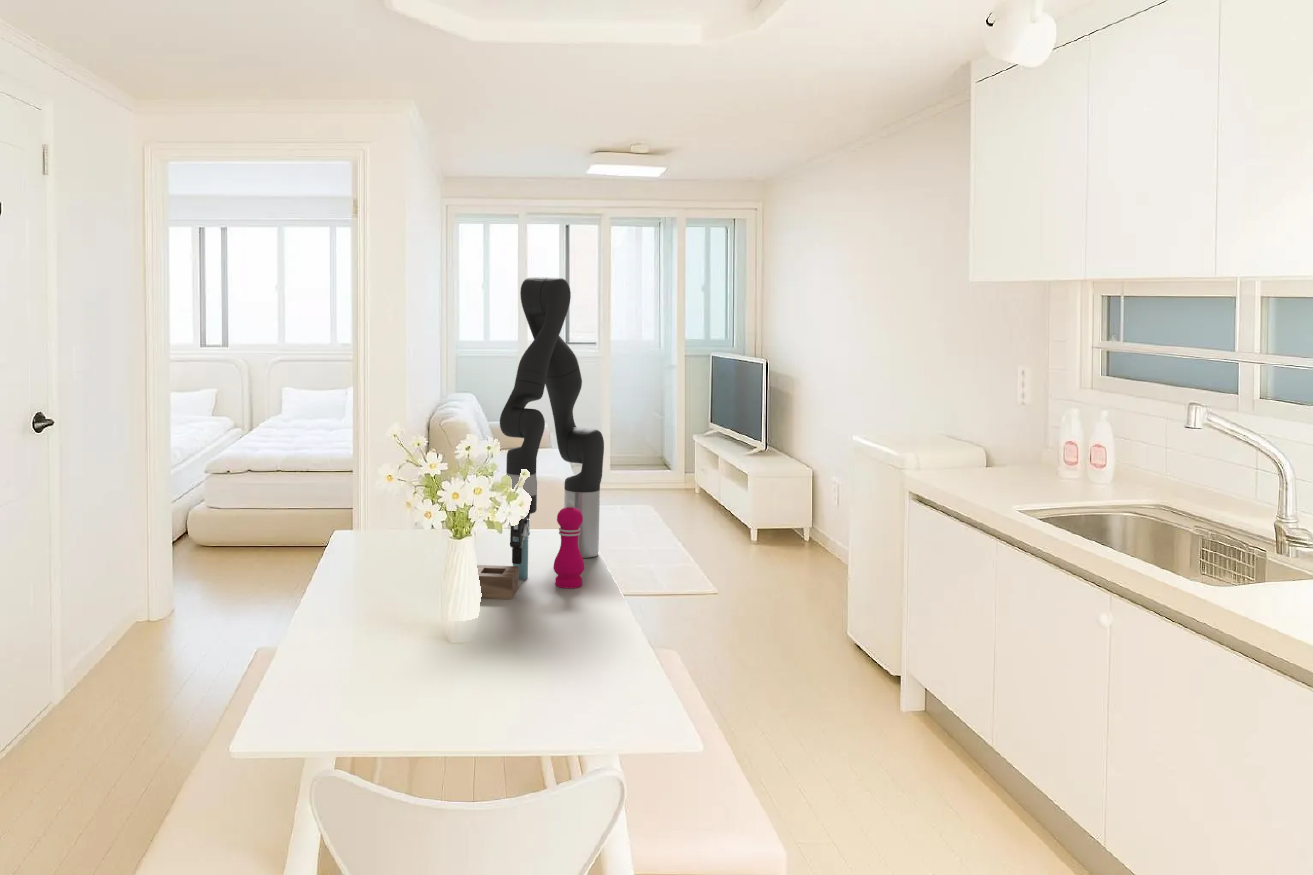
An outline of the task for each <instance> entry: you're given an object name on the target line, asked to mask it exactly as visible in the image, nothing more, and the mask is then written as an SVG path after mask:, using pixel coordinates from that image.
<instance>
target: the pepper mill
mask: <svg viewBox="0 0 1313 875" xmlns="http://www.w3.org/2000/svg"><path fill="white" fill-rule="evenodd" d="M566 506H567V507H566V508H564V507H562V508H561V509H560V510H559V511H558V513H557V516H556V522H557V524H558V525H559V528H558V530H559V532H558V535H560V545H559V550H558V552H557V554H556V557H555V558H554V562H553V571H554V573H555V574H556V577H555V581H554V583H555V584H554V585H555V586H556V587H557V588H561V589H576V588H580V587H582V586H583V577H582V576H581V575H582V574H583V572H584V571H585V568H586V567H585V561H584V558H583V557H582V555H581V553H580V550H579V546H578V536H579V535H580V530H581V529H580V528H579V526H580V525H581V524H582V522H583V516H582V513H581V511H580V510H579V509H577V508H574V507H573V506H574V503H573V501H568V502H567V503H566Z"/></svg>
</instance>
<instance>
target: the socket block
mask: <svg viewBox="0 0 1313 875" xmlns="http://www.w3.org/2000/svg"><path fill="white" fill-rule="evenodd" d="M476 565H477V568H478V575H479V580H480V586H481V593H482V598H481V599H495V600H497V599H498V600H499V599H500V600H501V599H502V600H512V599H513V598H514V596H515V594H516V593H517V591H518V590H519V584H520V583H519V582H520V580H519V566H513V565H495V564H493V565H491V564H489V565H488V564H476Z"/></svg>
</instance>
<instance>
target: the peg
mask: <svg viewBox="0 0 1313 875" xmlns="http://www.w3.org/2000/svg"><path fill="white" fill-rule="evenodd" d="M515 542H519V540H517V539H516V540H515ZM512 566H519V581H520V580H522V581H523V580H527V579H528V578H529V577H528V576H529V575H528V574H529V539H528V536H526V538H525V540H523V547H522V562H521V564H513V563H512Z"/></svg>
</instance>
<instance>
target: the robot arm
mask: <svg viewBox="0 0 1313 875" xmlns="http://www.w3.org/2000/svg"><path fill="white" fill-rule="evenodd" d="M571 294H572V293H571V287H570V285H569V283H568V282H567V280H566V279H565V278H563V277H558V276H557V277H555V276H546V277H544V276H540V277H539V276H530V277H528V278H525V279H524V280H523V281H522V283H521V286H520V301H521V308H522V310H523V312H524V316H525V318H526V319H525V320H526V321H527V324H528V327H529V329H530V332H531V335H532V338H533V340H532V342H531V343H530V345H528V347H527V349H525V351H524V353H523V355H522V356H521V358H520V361H519V363H518V366H517V370H516V377H515V381H514V385H513V386H514V387H513V389H512V390H511V393H510V395H509V397H508V399H507V401H506V403H505V405H504V407H503V408H502V411H501V414H500V418H499V428H500V431H501V433H502V434H503V435H505V436H506V437H509V438H516V439H517V438H518V439H519V438H520V439H523V442H522V444H521V446H519V447H512V448H510V449H508V450H507V453H506V472H505V474H506V475H508V476H510V477H511V479H512V489H514V487H515V485H516V484H517V483H518V481H519V477H520V473H521V469H527V470H528V471H529V472H530V477H528V478H527V479H526V480H525V483H524V485H523V489H524V490H525V491H526V492H527V493H529V495H530V496H531V498H532V501H531V505H530V510H529V513H528V515H527V516H526V517H525V518H524V519H521V520H520V521H519V524H518V525H515V526H511V525H510V534H509V535H510V538H509V540H510V541H509V546H510V548H511V563H512V565H513V564H521V562H522V547H523V540H525V538H526V536H528V540H529V536H530V534H531V533H530V529H531V528H530V523H531V522H530V521H531V519H530V517H531V516H530V515H532V514H534V513H536V512H537V503H538V498H537V497H538V480H537V479H538V478H537V458H538V453H539V449H540V445H541V442H542V438H543V435H544V432H545V427H546V426H545V425H546V422H545V417H544V415H543V413H542V412H541V411H540V410H538V409H536V408H527V407H526V406H527V405H528V404H529V403H532V402H535V401H539V400H541V399H542V398H543V395H544V392H545V388H546V391H547V395H548V398H549V399H548V400H549V404H550V407H551V412H552V417H553V422H554V428H555V437H556V438H555V439H556V442H557V448H558V452H559V455H560V456H561V459H562V460H564V461H565V462H568V463H571V464H573V463H574V464H581V469H580V472H579V473H578V474H575V475H571V476H568V477H566V478H565V479H564V485H563V486H564V491H563V492H564V495H563V496H564V498H563V501H564V502H563V503H564V504H563V508H566V507H567V506H566V503H567V502H568V501H573V503H574V506H573V507H574V508H577V509H579V510H580V511H581V513H582V516H583V522H582V524H581V525H580V526H579V528H580V529H581V530H580V535H579V536H578V546H579V550H580V553H581V555H582V557H583V559H586V558H594V557H597V556H598V555H599V554H598V552H599V550H600V549H599V547H600V546H599V545H600V508H601V507H600V505H601V504H600V503H601V502H600V501H601V500H600V498H601V496H600V494H601V490H600V489H601V482H602V478H603V467H604V454H605V452H604V451H605V441H604V436H603V434H602V432H601V431H600V430H598V429H595V428H594V429H593V428H585V427H578V426H576V423H575V419H574V413H573V412H574V407H575V404H576V402H577V400H578V397H579V395H580V394H581V393H580V392H581V389H582V387H583V386H582V385H583V379H582V378H583V377H582V374H581V370H580V366H579V360H578V358H577V355H576V354H575V353H574V351H573V350H572V349H571V348H570V346H569V345H568V344H567V343H566V342H565V340H564V339H562V337H561V336H560V335H561V331H562V329H563V325H564V323H565V320H566V317H567V314H568V311H569V309H570V308H569V307H570V304H571ZM506 475H505V476H506ZM516 539H517V540H519V542H515V540H516Z"/></svg>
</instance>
